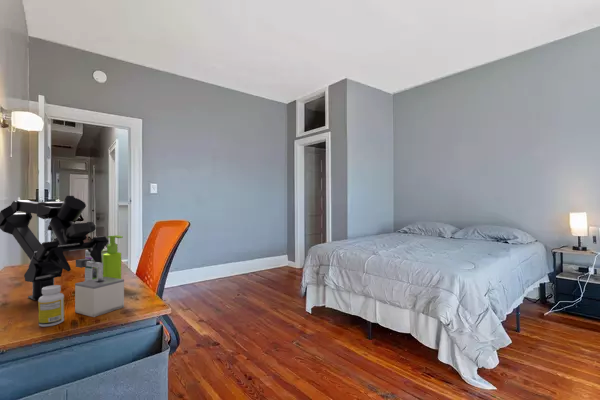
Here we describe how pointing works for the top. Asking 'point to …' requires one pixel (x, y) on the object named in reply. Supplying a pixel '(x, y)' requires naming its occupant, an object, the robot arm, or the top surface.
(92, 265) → the plunger
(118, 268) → the soap dispenser
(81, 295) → the slotted grey box
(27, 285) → the top surface
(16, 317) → the top surface
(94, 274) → the syrup box
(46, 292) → the supplement bottle
